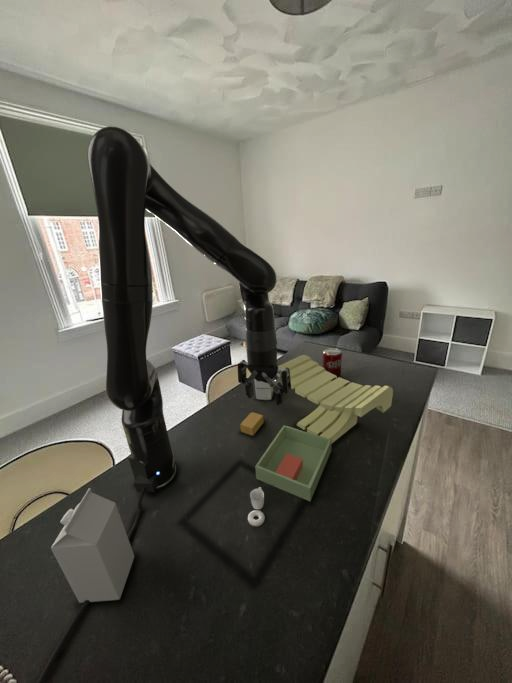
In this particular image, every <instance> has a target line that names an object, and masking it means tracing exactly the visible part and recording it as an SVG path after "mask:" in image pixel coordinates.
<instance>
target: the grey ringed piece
mask: <svg viewBox="0 0 512 683" xmlns="http://www.w3.org/2000/svg"><path fill="white" fill-rule="evenodd" d="M249 497H250V503H251V506H252V507H253V509H254V510H252V511H250V512H249V513H248V515H247V521H248V524H249V525H250V526H252V527H259V526H261V525H263V524H264V522H265V519H266V517H265V514H264V512H263V511H262V510H261V509H262V508H263V507H264V505H265V492H264V491H263V489H262V487H261V486H259V487H258V488H254V489H252V490H251V491H250V493H249ZM255 517H258V519H255Z"/></svg>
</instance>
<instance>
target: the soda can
mask: <svg viewBox="0 0 512 683" xmlns="http://www.w3.org/2000/svg"><path fill="white" fill-rule="evenodd" d="M342 357H343V352H342V350H341V349H339V348H335V347H328V348H325V349H324V350H323V352H322V367H323V368H325V371H327V372H329V373H332V374H334V375H336V376H337V378H338V377H340V378H342V359H343V358H342Z"/></svg>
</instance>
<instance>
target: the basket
mask: <svg viewBox="0 0 512 683" xmlns="http://www.w3.org/2000/svg"><path fill="white" fill-rule="evenodd" d="M331 442H332V440H331V439H328V438H325V437H321V436H318V435H315V434H311V433H308V432H307V431H306V430H301V429H298V428H295V427H291V426H288V425H285V424H284V425H283V426H282V427H281V428H280V430H279V431H278V433H277V434H276V436H275V437H274V439H273V440H272V441H271V443H270V444H269V445H268V447H267V449H266V450H265V452H263V454H262V455H261V457H260V459H259V460H258V462H257V463H256V464H255V466H254V470H255V479H256V480H259V481H261V482H263V483H265V484H267V485H270V486H272V487H275V488H277V489H279V490H282V491H284V492H286V493H288V494H291V495H294V496H295V497H298V498H301V499H303V500H304V501H305V500H306V501H308V502H311V501H312V498H313V496H314V494H315V491H316V489H317V487H318V484H319V482H320V479H321V477H322V474H323V472H324V469H325V467H326V465H327V462H328V460H329V458H330V455H331V452H332V444H331ZM286 454H290V455H293V456H295V457H298V458H301V459H302V463H303V468H302V470H301V472H300V474H299V476H298V478H297V480H293V479H290V478H288V477H285V476H283V475H280V474H278V473H275V472H276V471H277V469H278V467H279V466H280V464H281V462H282V460H283V459H284V457H285V455H286Z"/></svg>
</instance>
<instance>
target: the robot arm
mask: <svg viewBox="0 0 512 683" xmlns="http://www.w3.org/2000/svg"><path fill="white" fill-rule="evenodd" d="M87 164H88V169H89V174H90V180H91V184H92V190H93V195H94V196H93V197H94V202H95V206H96V213H97V222H98V264H99V265H98V266H99V283H100V284H99V286H100V297H101V298H100V299H101V306H102V313H103V324H104V326H103V327H104V333H105V334H104V335H105V340H106V352H107V353H106V356H107V357H106V377H105V379H106V380H105V393H106V395H107V397H108V399H109V401H110V402H111V404H112V405H113V406H115V407H116V408H118V409H119V410H121V425H122V429H123V432H124V434H125V438H126V442H127V446H128V449H129V452H130V454H129V455H128V456H127V459H128V462H129V465H130V468H131V473H132V475H133V478H134V483H133V484H134V487H135V488H134V489H135V491H136V492H138V493H139V492H140V493H139V496H138V500H137V512H136V516H135V520H134V522H133V525H132V526H131V528H130V531H129V532H128V534H127V537H128V540H129V541H130V540H131V538H133V535H134V533H135V531H136V529H137V527H138V524H139V521H140V518H141V515H142V510H143V498H144V495H145V493H150V494H154V493H155V492H156V491H159V490H161V489H163V488H165V487H167V486H169V484H170V483H172V482H173V481H174V479H175V477H176V474H177V466H176V464H175V459H176V457H175V455H174V454H173V451H172V450H173V449H172V446H171V441H170V437H169V433H168V429H167V424H166V420H165V415H164V403H163V395H162V390H161V386H160V385H161V384H160V380H159V375H158V372H157V368H156V367H155V366H154V365H153V364H152V362H151V361H150V360H148V359H147V344H148V338H149V332H150V327H151V322H152V314H153V302H154V299H153V298H154V295H153V294H154V293H153V292H154V290H153V271H152V262H151V256H150V251H149V245H148V241H147V240H148V239H147V235H146V234H147V233H146V211H147V212H148V213H151V214H152V215H153V216H155V217H156V218H158V219H159V220H160V221H162V222H163V223H165V225H167V226H168V227H169V228H170V229H172V230H173V231H175V233H176V234H178V235H179V236H180V237H181V238H182V239H183V240H184V241H185V242H186V243H187V244H189V245H190V246H191V247H192V248H194V250H196V251H197V252H199V253H200V254H201V255H202V256H204V257H205V258H206V259H207V260H209V261H210V262H211V263H213V264H214V265H215V266H217V267H218V268H220V269H222V270H224V271H225V272H227V273H229V274H230V275H231V276H232V277H233V278H234V279H236V280H237V281H238V286H239V291H240V297H241V301H242V304H243V311H244V326H245V327H244V328H245V335H244V336H245V337H244V338H245V348H246V350H245V351H246V359H242V360H240V362H238V363H237V381H238V383H239V384H243V385H244V387H245V394H246V396H247V399H252V398H253V397H254V394H255V391H254V383H253V381H255V380H254V379H256V380H257V381H262V382H264V383H269V384H270V386H271V387H273V390H274V391H275V404H276V405H277V406H279V407H280V406H281V405H282V404H283V403H284V401H285V394H288V392H289V391H290V390H291V389H292V388H291V379H290V369H289V368H288V367H286V368H285V369H280V368H278V366H279V365H278V340H277V331H276V327H275V326H276V324H275V310H274V306H273V304H272V302H271V301H270V298H269V293H270V292H272V291H273V290H274V288H275V287H276V285H277V280H278V277H277V272H276V270H275V268H274V267H273V266H272V265H271V264H270V262H268V261H267V260H266V259H265V258H263V257H262V256H260V255H259V254H258V253H256V252H255V251H253V250H252V249H250V248H249V247H247V246H246V245H245V244H244V243H242V242H241V241H240V240H239V239H238V238H237V237H236V236H235V235H234V234H232V232H230V231H229V230H228V229H227V228H226V227H224V226H223V224H221V223H220V222H219V221H217V220H216V219H215V218H213V216H210V215H209V214H208V213H206V212H205V211H203V210H202V208H199V207H198V206H197V205H195V204H194V203H192V202H191V201H190V200H188V199H187V198H185V197H184V196H183V195H181V193H179V192H178V191H177V190H175V188H173V187H172V186H171V185H170V184H169V183H168V182H167V181H166V180H165V179H164V178H163V177H162V176H161V175H160V173H159V172H158V171H157V170H156V169H155V168H154V166H153V165H152V164H151V163H150V160H149V158H148V155H147V152H146V150H145V148H144V147H143V146H142V144H141V143H140V142H139V141H138V140H137V138H136V137H135V136H134V135H132V134H131V133H130V132H129V131H127V130H125V129H123V128H121V127H118V126H111V125H109V126H105V127H102V128H100V129H99V130H97V131H96V132H95V133H94V134H93V136H92V138H91V139H90V141H89V144H88V147H87ZM247 370H248V371H249V373H250V375H249V376H248V377H247ZM277 373H278V374H279V375H280V377H279V376H278V375H277ZM273 379H274V380H273ZM90 603H91V602H90V601H89V600H85V601H84V603H81V605H80V607H79V609H78V611H77V612H76V614H74V617H73V619H72V620H71V622H70V623H69V625H68V626H67V627H66V628H67V629H66V630H65V632H64V634H63V635H62V637H61V638H60V641H59V642H58V644H57V645H56V647H55V649H54V650H53V652H52V653H51V656H50V657H49V659H48V660H47V663H46V665H45V667H44V668H43V669H42V671H41V673H40V675H39V677H38V679H37V681H36V683H45V680H46V678H47V676H48V674H49V673H50V671H51V669H52V667H53V665H54V663H55V662H56V659H58V657H59V654H60V652H61V651H62V649H63V647H64V645H65V644H66V642H67V640H68V638H69V637H70V636H71V634H72V631H73V630H74V628H75V627H76V625H77V623H78V622H79V620H80V619H81V617H82V615H83V614H84V612H85V610H86V609H87V607H88V605H89V604H90Z"/></svg>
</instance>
